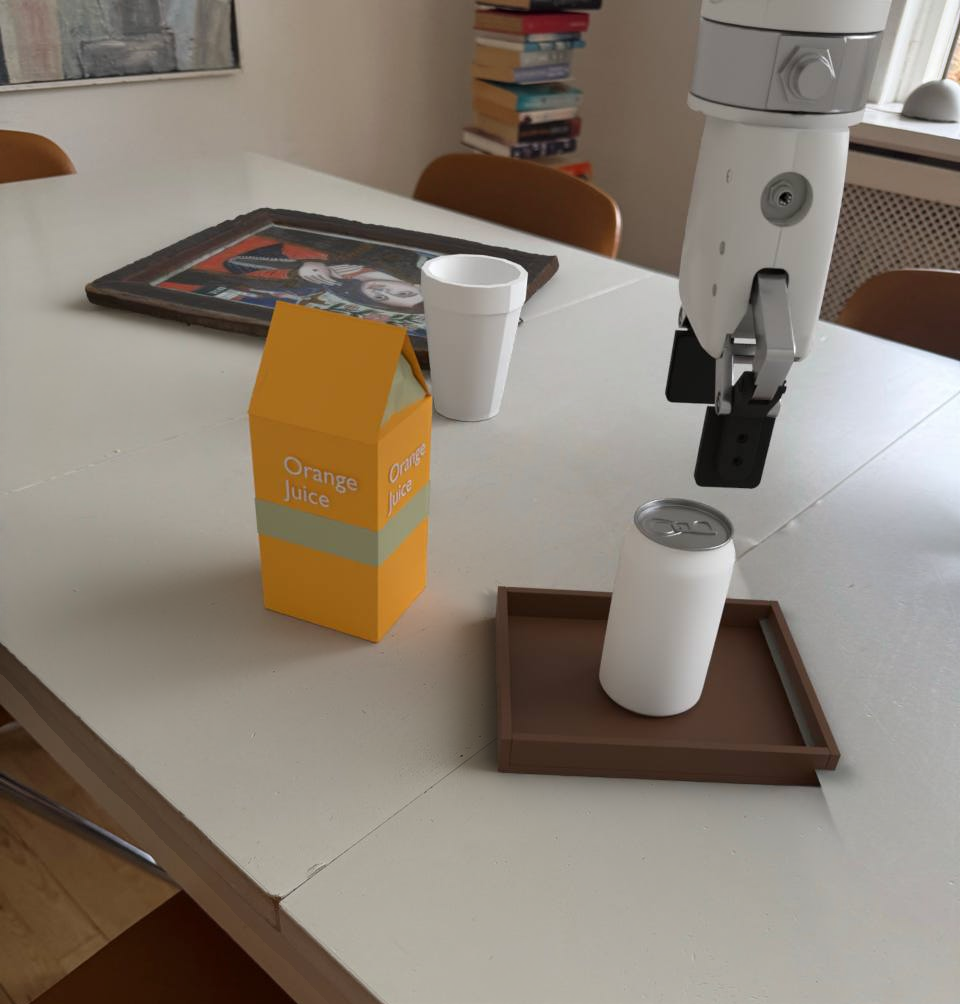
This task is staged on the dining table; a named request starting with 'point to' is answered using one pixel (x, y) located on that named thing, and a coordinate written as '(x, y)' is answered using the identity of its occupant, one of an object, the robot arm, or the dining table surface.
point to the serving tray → (641, 739)
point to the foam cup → (471, 330)
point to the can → (666, 606)
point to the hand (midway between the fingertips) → (707, 440)
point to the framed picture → (295, 273)
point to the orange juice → (340, 470)
